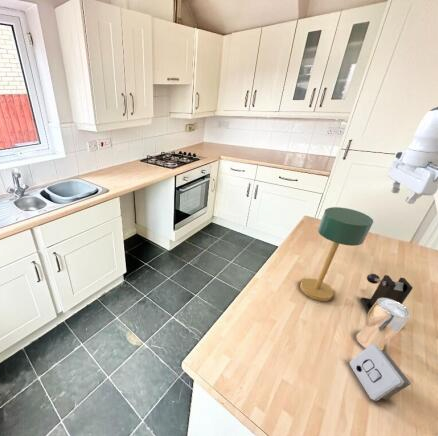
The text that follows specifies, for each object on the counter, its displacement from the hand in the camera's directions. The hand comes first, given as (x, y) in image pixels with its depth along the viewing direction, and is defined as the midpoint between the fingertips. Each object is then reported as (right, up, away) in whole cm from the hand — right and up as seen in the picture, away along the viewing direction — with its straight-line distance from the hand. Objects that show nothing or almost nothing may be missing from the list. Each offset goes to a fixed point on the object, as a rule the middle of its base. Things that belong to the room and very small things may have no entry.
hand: (401, 197), depth 86 cm
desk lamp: (-28, -34, +3) cm, 45 cm away
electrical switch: (-34, -50, -24) cm, 64 cm away
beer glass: (-25, -44, -15) cm, 53 cm away
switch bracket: (-14, -39, -6) cm, 41 cm away
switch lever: (-12, -30, -6) cm, 33 cm away
